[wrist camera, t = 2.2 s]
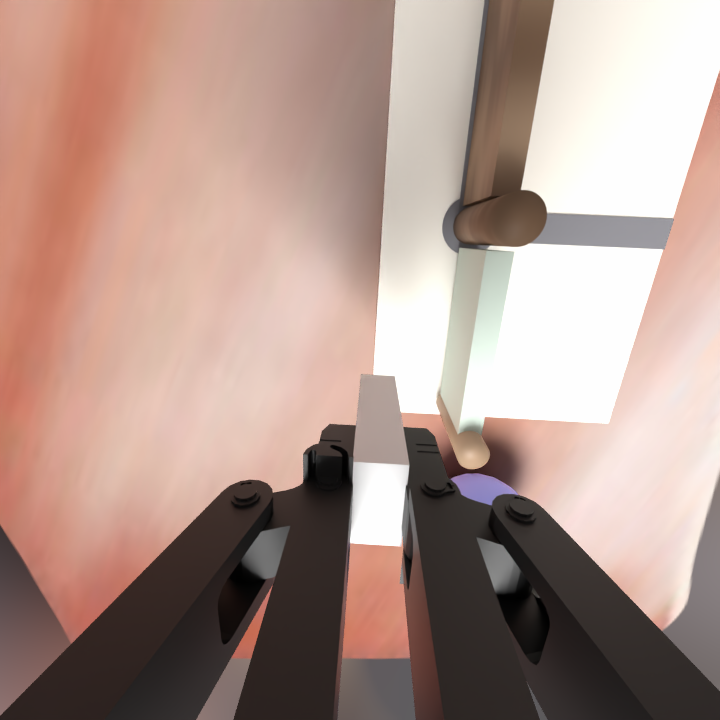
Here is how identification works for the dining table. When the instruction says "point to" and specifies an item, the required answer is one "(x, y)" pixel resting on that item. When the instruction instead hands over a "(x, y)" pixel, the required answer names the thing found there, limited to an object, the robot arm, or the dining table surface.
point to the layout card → (542, 194)
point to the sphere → (481, 487)
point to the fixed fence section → (505, 128)
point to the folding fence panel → (473, 349)
